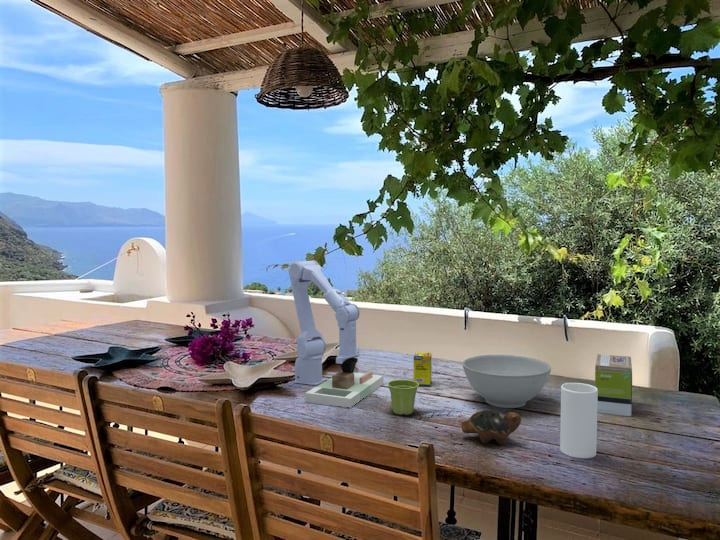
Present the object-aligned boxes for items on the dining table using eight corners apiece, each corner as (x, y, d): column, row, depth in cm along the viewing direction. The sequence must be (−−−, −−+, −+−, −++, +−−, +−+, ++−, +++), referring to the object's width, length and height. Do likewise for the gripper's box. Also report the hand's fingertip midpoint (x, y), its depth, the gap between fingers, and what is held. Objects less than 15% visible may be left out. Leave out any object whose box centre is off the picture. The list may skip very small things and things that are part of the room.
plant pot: (401, 404, 166) (401, 377, 166) (425, 411, 160) (425, 383, 159) (381, 412, 160) (380, 383, 159) (404, 419, 153) (404, 390, 153)
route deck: (305, 402, 170) (305, 386, 170) (342, 379, 195) (342, 366, 195) (350, 408, 163) (350, 392, 163) (383, 384, 189) (383, 370, 189)
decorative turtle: (524, 449, 132) (522, 418, 131) (462, 449, 134) (460, 419, 134) (519, 432, 141) (517, 403, 140) (461, 433, 144) (459, 404, 143)
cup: (554, 445, 134) (555, 383, 133) (585, 443, 135) (586, 382, 133) (569, 459, 126) (571, 393, 125) (603, 457, 126) (604, 391, 125)
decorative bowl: (564, 400, 169) (565, 363, 168) (526, 423, 149) (526, 381, 148) (488, 384, 187) (489, 350, 186) (446, 403, 168) (446, 365, 167)
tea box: (596, 398, 171) (597, 353, 170) (630, 402, 167) (632, 355, 166) (593, 412, 158) (595, 363, 157) (631, 417, 153) (633, 367, 152)
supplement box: (430, 387, 185) (430, 356, 184) (413, 386, 186) (413, 355, 185) (431, 382, 191) (431, 352, 190) (415, 381, 192) (415, 351, 191)
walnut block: (332, 387, 175) (332, 375, 175) (339, 383, 180) (339, 371, 180) (347, 389, 173) (347, 377, 173) (354, 384, 178) (354, 373, 178)
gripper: (349, 345, 171) (350, 386, 172) (367, 337, 185) (367, 375, 186) (330, 343, 174) (330, 384, 175) (348, 335, 187) (349, 373, 188)
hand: (348, 379), depth 181 cm, fingers closed
